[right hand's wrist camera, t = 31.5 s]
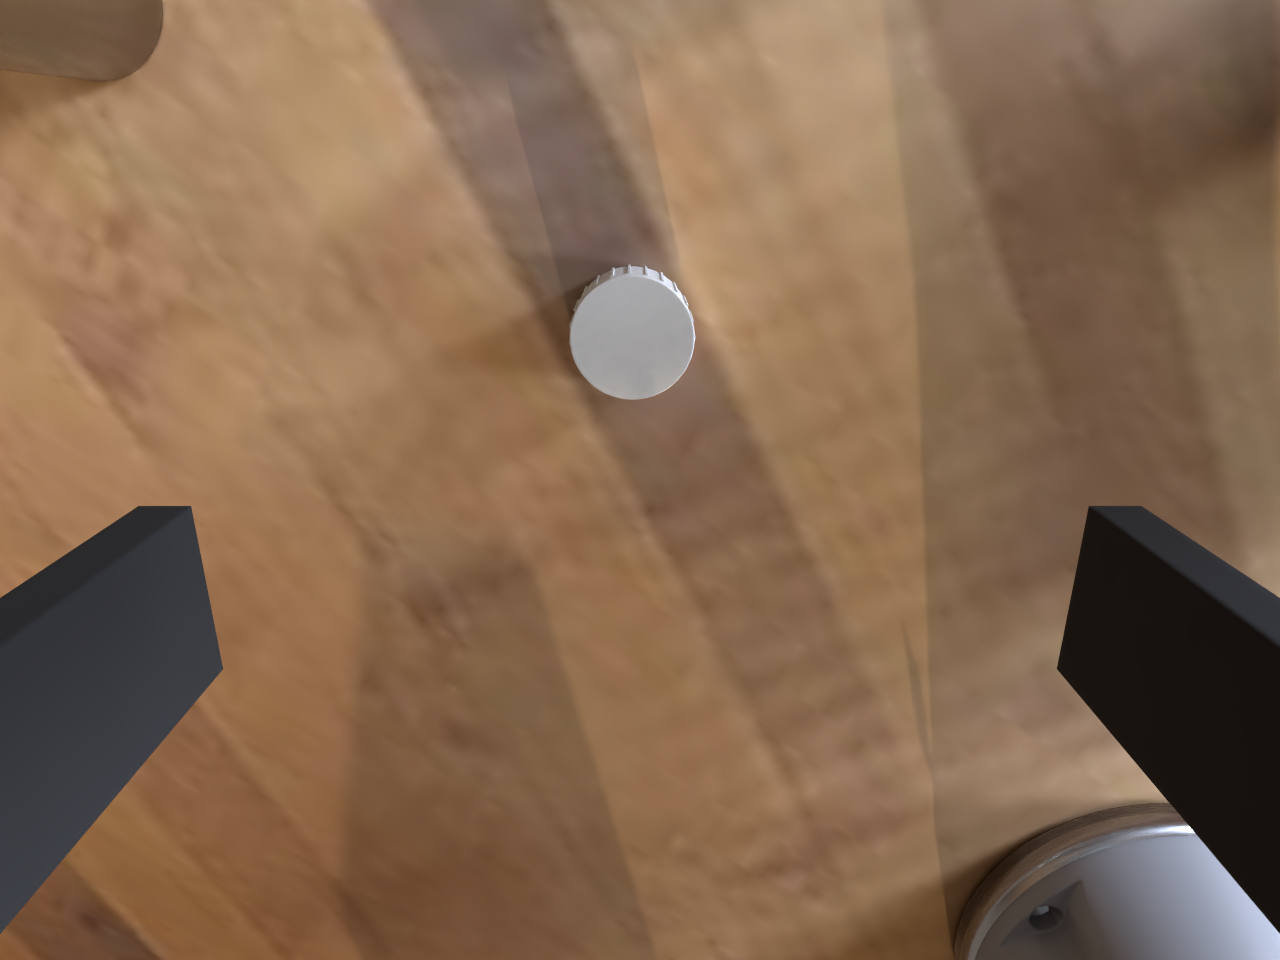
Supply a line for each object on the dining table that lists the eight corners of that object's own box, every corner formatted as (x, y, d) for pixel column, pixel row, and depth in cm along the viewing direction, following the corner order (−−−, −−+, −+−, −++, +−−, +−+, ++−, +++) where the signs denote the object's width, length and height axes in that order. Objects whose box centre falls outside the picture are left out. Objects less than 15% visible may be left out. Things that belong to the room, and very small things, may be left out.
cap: (715, 307, 28) (721, 319, 26) (649, 404, 29) (651, 424, 27) (613, 240, 27) (612, 247, 25) (550, 342, 29) (544, 358, 26)
